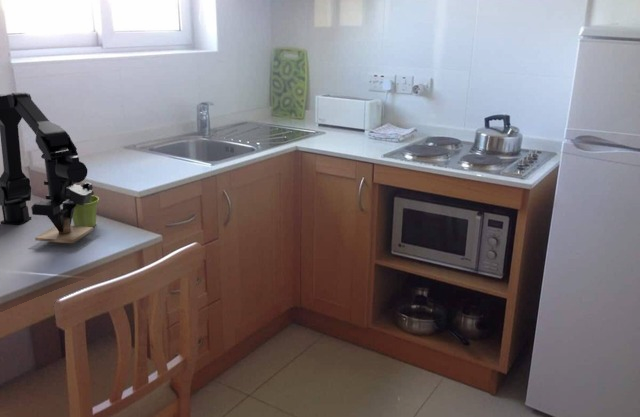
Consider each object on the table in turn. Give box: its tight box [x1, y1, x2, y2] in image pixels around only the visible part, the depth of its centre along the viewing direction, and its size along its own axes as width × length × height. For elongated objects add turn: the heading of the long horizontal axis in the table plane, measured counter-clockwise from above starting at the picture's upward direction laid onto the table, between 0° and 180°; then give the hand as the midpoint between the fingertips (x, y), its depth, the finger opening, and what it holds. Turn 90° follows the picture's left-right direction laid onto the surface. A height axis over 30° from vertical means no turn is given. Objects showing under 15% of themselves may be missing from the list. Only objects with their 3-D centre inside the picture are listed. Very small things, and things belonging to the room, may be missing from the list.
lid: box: [34, 217, 94, 243], centre depth 162 cm, size 11×11×5 cm
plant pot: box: [72, 194, 100, 228], centre depth 176 cm, size 9×9×9 cm
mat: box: [27, 233, 102, 254], centre depth 164 cm, size 14×14×1 cm
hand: (64, 229), depth 163 cm, fingers closed on lid, 3 cm apart
